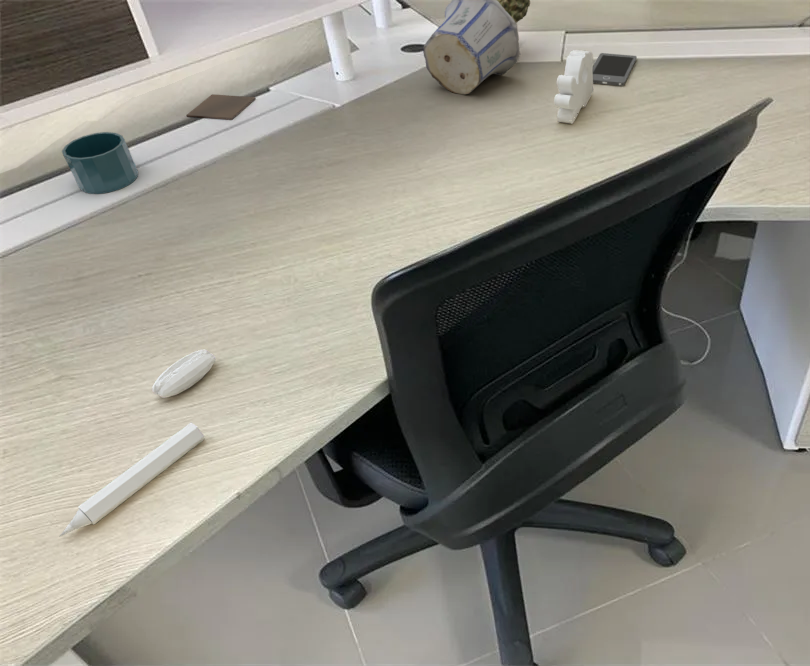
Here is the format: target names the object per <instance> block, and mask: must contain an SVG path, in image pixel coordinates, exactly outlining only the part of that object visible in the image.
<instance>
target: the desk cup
mask: <svg viewBox="0 0 810 666" xmlns="http://www.w3.org/2000/svg"><path fill="white" fill-rule="evenodd" d="M61 153H62V156H63V158H64V160H65V161H66V165H67V166H68V168H69V170H70V172H71V175H72V176H73V178H74V180H75V182H76V184H77V186H78V188H79V189H80V190H81V191H82V192H84V193H86V194H92V195H99V194H108V193H113V192H115V191H118V190H121V189H123V188H126V187H127V186H130V185H131V184H132V183H134V182H135V180H137V178H138V177H139V170H138V168H137V166H136V163H135V161H134V159H133V156H132V153H131V151H130V149H129V147H128V145H127V142H126V140H125V137H124V136H123V135H122V134H121V133H117V132H110V131H101V132H95V133H90V134H86V135H82V136H80V137H78V138H75V139H73V140H71V141H70V142H68V143H67V144H66V145H65V146H64V147H63V149H62V150H61Z"/></svg>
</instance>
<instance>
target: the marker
mask: <svg viewBox="0 0 810 666" xmlns="http://www.w3.org/2000/svg"><path fill="white" fill-rule="evenodd" d="M204 440H205V434H204V433H203V431H201V429H200V428H199V426H198V425H196V424H195V423H193V422H189V423H188V424H186V425H185V426H184V427H183V428H181V429H179V430H178V431H177V432H175V434H173V435H171V436H170V437H169V438H168V439H167V440H165V441H164V442H162V443H161V444H159V446H157V447H156V448H154V449H153V450H151V451H150V452H149V453H147V454H146V455H145V456H143V457H142V458H141V459H140V460H138V461H137V462H135V463H134V464H133V465H132V466H130V467H129V468H128V469H126V470H125V471H123V472H122V473H121V474H119V475H118V476H117V477H115V478H114V479H113V480H112V481H110V482H109V483H107V484H106V485H105V486H104V487H102V488H101V489H100V490H98V491H97V492H95V493H94V494H93V495H92V496H90V497H89V498H87V499H86V500H85V501H84V502H82V503H81V504H79V505H78V506H77V509H78V510H77V511H76V513H75V514H74V515H73V518H72V519H71V521H70V522H69V523H68V524H67V526H66V527H65V528H64V530H63V531H62V532H61V533H60V535H59V538H61V537H62V536H65V535H67V534H69V533H71V532H73V531H75V530H78V529H81V528H83V527H86V526H89V525H96V524H97V523H98V522H99V521H102V519H104V518H105V517H106V516H108V515H109V514H110V513H111V512H112V511H114V510H115V509H116V508H118V507H119V506H120V505H122V504H123V503H124V502H126V500H128V499H129V498H130V497H132V496H133V495H134V494H136V493H137V492H139V490H141V489H142V488H144V487H145V486H146V485H148V483H150V482H152V481H153V479H155V478H156V477H157V476H159V475H160V474H161V473H163V472H164V471H165V470H167V469H169V467H170V466H172V465H173V464H174V463H176V462H177V461H178V460H179V459H181V458H182V457H184V455H186V454H187V453H189V452H190V451H191V450H193V449H194V448H195V447H196V446H198V445H199V444H200V443H202V442H203V441H204Z"/></svg>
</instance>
